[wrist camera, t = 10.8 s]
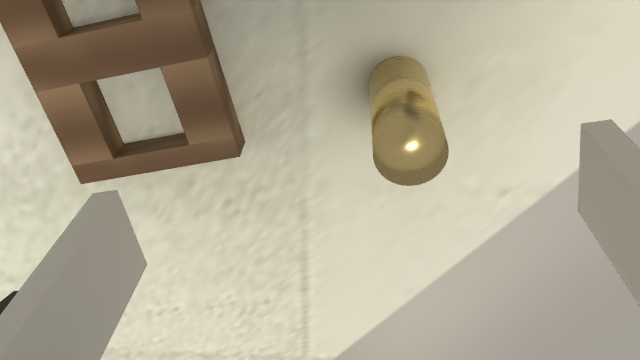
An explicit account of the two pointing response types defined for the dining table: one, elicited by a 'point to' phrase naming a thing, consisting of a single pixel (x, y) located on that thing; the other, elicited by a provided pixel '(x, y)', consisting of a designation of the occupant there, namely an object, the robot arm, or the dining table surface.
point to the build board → (117, 59)
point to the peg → (405, 123)
